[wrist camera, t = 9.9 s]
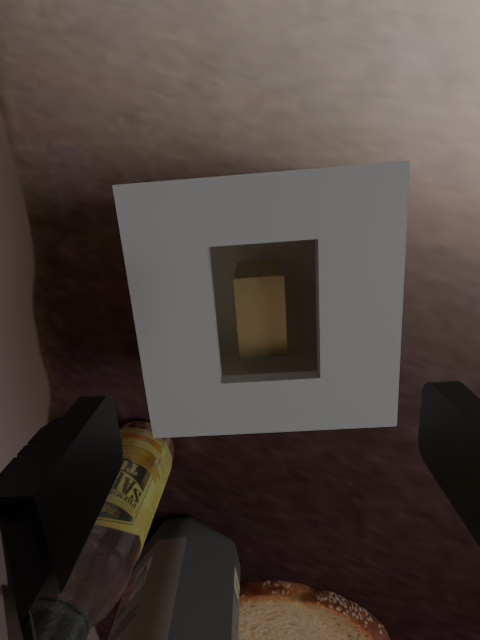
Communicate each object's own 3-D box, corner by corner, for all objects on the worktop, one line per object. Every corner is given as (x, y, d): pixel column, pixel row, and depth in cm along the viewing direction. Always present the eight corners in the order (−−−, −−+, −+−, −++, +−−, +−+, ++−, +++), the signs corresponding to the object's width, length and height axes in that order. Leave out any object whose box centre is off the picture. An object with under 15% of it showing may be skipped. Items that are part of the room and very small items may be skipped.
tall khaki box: (237, 261, 29) (233, 279, 23) (276, 258, 29) (284, 275, 22) (241, 324, 31) (239, 357, 24) (279, 321, 30) (287, 354, 24)
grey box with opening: (162, 192, 29) (112, 185, 18) (350, 176, 28) (409, 160, 18) (184, 363, 33) (153, 438, 22) (349, 353, 32) (396, 426, 22)
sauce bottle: (173, 415, 34) (77, 676, 15) (178, 473, 36) (99, 772, 17) (101, 416, 35) (-81, 675, 16) (110, 474, 36) (-43, 769, 17)
